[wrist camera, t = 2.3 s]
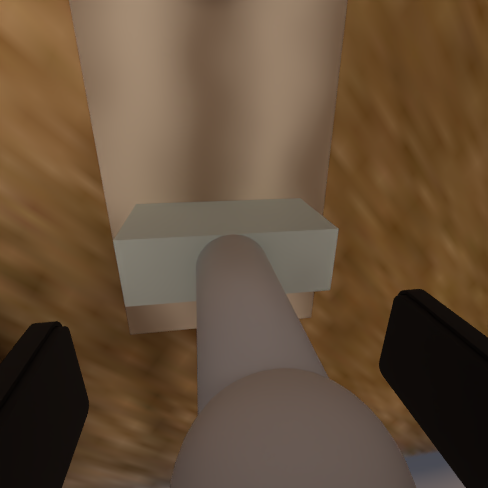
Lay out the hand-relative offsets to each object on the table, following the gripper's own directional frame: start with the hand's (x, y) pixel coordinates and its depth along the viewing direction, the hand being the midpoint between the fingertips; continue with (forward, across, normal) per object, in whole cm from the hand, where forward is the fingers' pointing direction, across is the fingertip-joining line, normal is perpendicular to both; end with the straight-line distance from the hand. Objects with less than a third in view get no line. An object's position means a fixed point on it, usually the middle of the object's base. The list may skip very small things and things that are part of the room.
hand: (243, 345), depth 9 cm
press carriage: (+9, 0, 0) cm, 9 cm away
